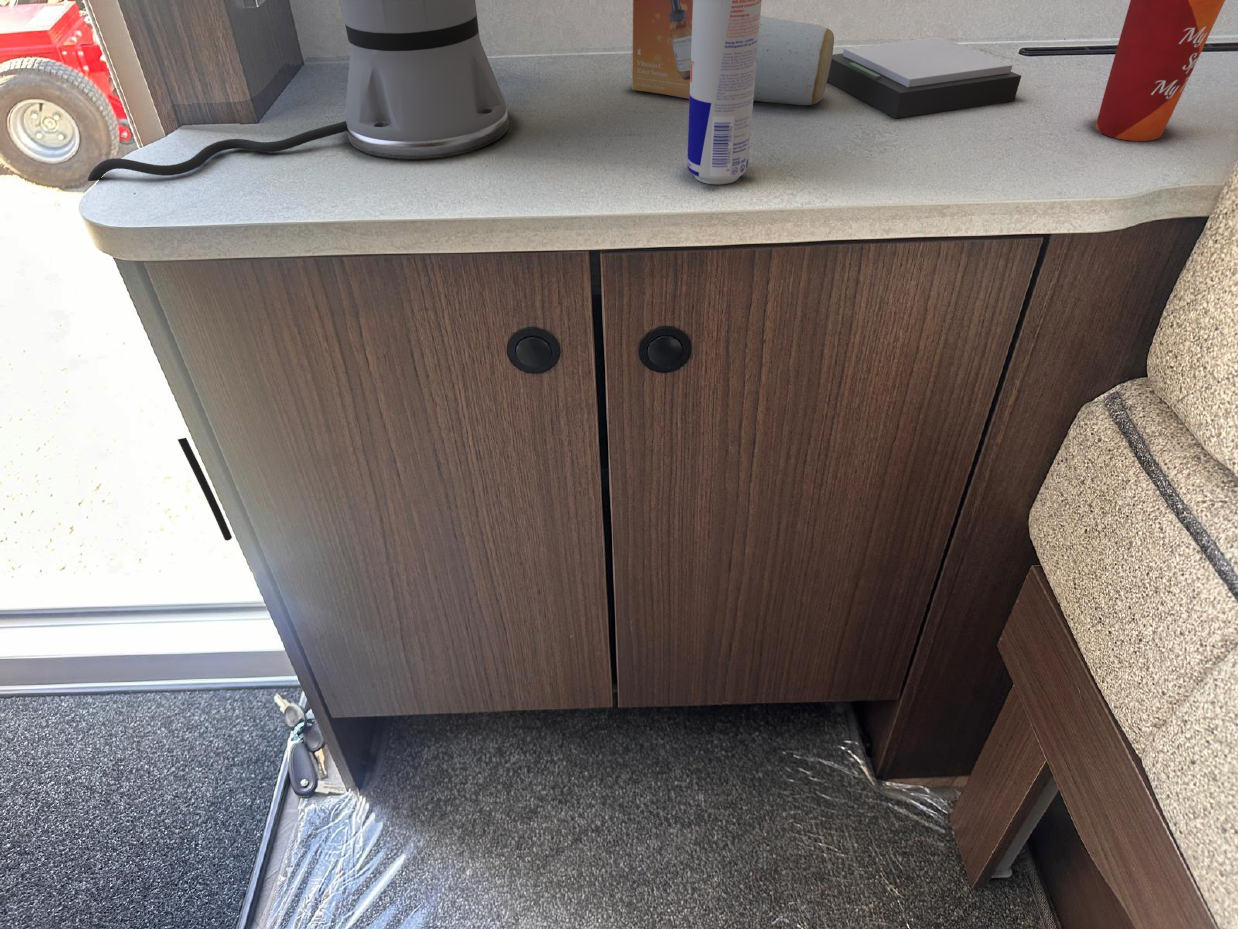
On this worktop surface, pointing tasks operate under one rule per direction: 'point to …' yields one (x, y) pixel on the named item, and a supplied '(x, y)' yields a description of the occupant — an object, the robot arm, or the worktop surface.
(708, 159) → the beverage can
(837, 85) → the scale
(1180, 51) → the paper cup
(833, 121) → the worktop surface
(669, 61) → the small box
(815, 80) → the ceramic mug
